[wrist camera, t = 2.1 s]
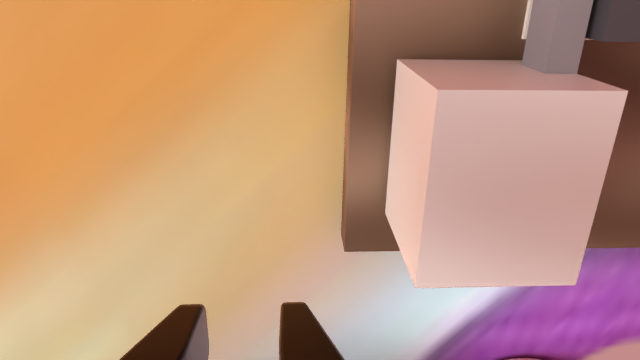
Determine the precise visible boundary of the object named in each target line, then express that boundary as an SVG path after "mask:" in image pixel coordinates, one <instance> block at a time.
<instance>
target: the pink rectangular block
mask: <svg viewBox="0 0 640 360" xmlns="http://www.w3.org/2000/svg"><path fill="white" fill-rule="evenodd" d="M592 5H593V0H533V4H532V9H531V15H530V21H529V26H528V32H527V37H526V43H525V49H524V54H523V60H432V59H397V67H396V80H395V93H394V106H393V118H392V131H391V144H390V157H389V169H388V182H387V195H386V208H385V214H386V217H387V219H388V222H389V224H390V227H391V229H392V232H393V234H394V237H395V239H396V242H397V244H398V247H399V249H400V252H401V254H402V256H403V259H404V261H405V264H406V266H407V269H408V271H409V274H410V276H411V279H412V281H413V284H414V286H415V288H450V287H502V286H554V285H576V283H577V279H578V275H579V271H580V268H581V264H582V260H583V257H584V253H585V249H586V246H587V242H588V238H589V234H590V231H591V227H592V223H593V220H594V216H595V212H596V209H597V205H598V201H599V197H600V194H601V190H602V186H603V183H604V179H605V175H606V171H607V168H608V164H609V160H610V157H611V153H612V149H613V146H614V142H615V138H616V134H617V131H618V127H619V123H620V120H621V116H622V112H623V109H624V105H625V101H626V97H627V94H628V91H627V90H624V89H621V88H618V87H615V86H612V85H609V84H606V83H603V82H600V81H597V80H594V79H591V78H588V77H585V76H582V75H579V74H577V71H578V67H579V62H580V58H581V54H582V49H583V45H584V40H585V36H586V31H587V27H588V22H589V18H590V14H591V9H592Z"/></svg>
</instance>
